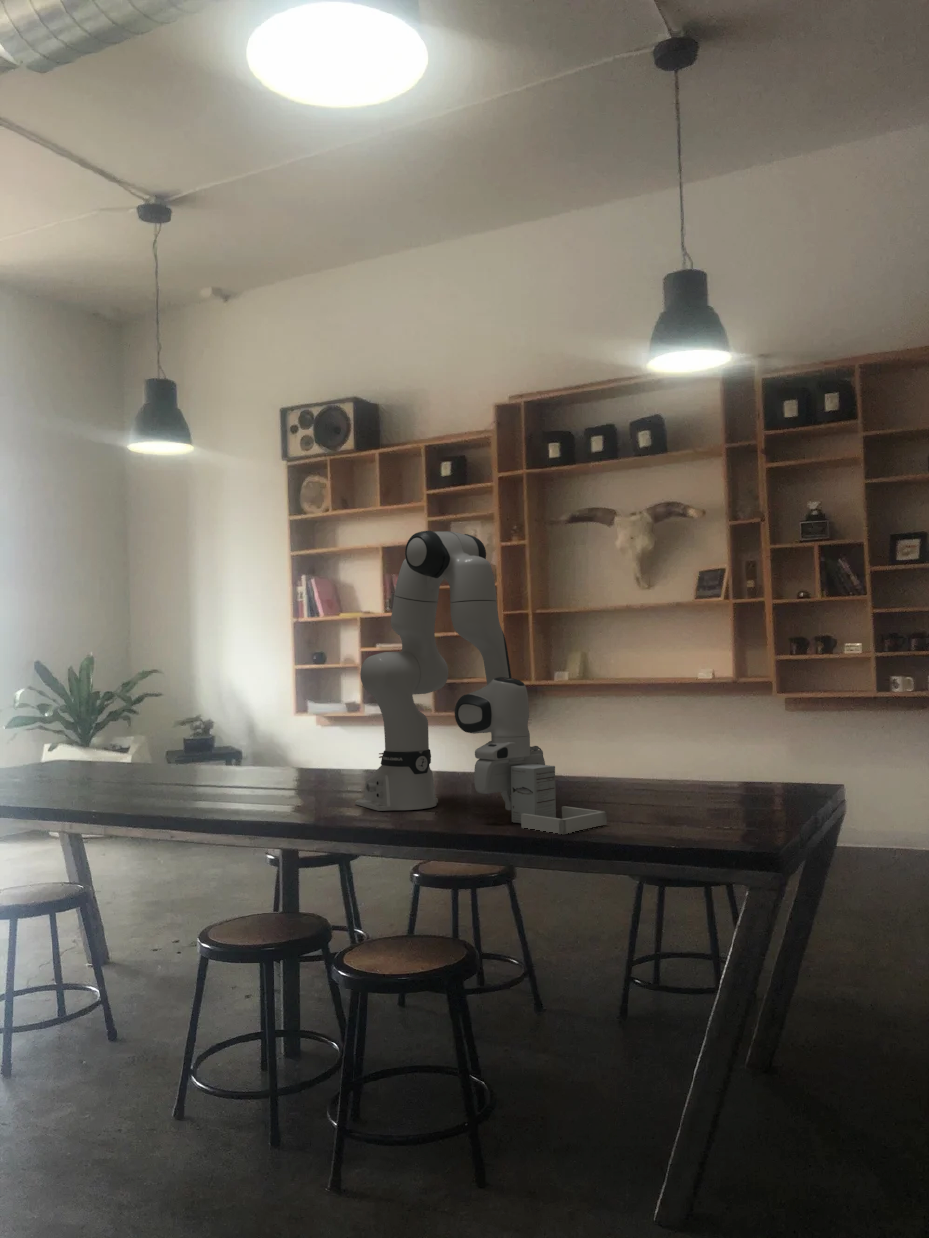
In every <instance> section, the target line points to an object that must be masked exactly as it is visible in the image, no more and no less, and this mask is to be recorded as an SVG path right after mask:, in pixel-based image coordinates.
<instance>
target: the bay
mask: <svg viewBox="0 0 929 1238" xmlns="http://www.w3.org/2000/svg"><path fill="white" fill-rule="evenodd" d="M607 822H608V821H607V811H604V810H598V809H597V810H595V809H590V808H589V809H588V808H580V807H574V806H566V805H565V806H561V818H558V817H556V818H552V817H545V816H538V815H531V814H521V823H520V825H521V829H524V828H528V829H527V830H530V829H535V830H534V831H536V830H540V831H539V832H543V831H546V832H545V833H549V832H553V833H552V834H555V833H558V834H557V835H561V834H562V835H563V836H564V835H568V833H569V834H573V833H572V832H574V833H576V832H575V831H579V830H583V829H587V828H592V827H596V826H601V825H607ZM607 826H608V825H607ZM583 831H584V830H583ZM579 832H580V831H579Z"/></svg>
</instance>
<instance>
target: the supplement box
mask: <svg viewBox="0 0 929 1238" xmlns="http://www.w3.org/2000/svg"><path fill="white" fill-rule="evenodd" d="M510 797H511V810H510V811H511V813H510V814H511V823H512V822H513V823H516V824H521V814H531V815H538V816H545V817H552V818H557V813H556V810H557V807H556V805H557V804H556V800H557V799H556V798H557V797H556V766H555V765H549V764H548V765H547V764H545V765H540V764H523V765H517V766H511V795H510Z"/></svg>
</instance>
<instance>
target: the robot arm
mask: <svg viewBox="0 0 929 1238" xmlns="http://www.w3.org/2000/svg"><path fill="white" fill-rule="evenodd" d="M404 550H405V551H404V552H405V553H404V556H405V559H404V560H403V561H402V563H401V566H400V569H399V572H398V575H397V579H396V583H395V589H394V595H393V602H392V610H391V615H390V616H391V617H390V626H391V629H392V630H393V631H394V633H396V634H397V635H399V637H400V640H401V651H384V652H379V653H376V654H373V655H370V656H368V657H367V658H366V659H364V661H363V662H362V665H361V666H360V667H361V668H360V673H359V674H360V675H359V676H360V681H361V684H362V686H363V688H364V689H365V690H366V691H367V693H369V694H370V695H371V696H372V697H373V699H375V701H376V703H377V705H378V708H379V710H380V713H381V716H382V720H383V733H384V750H383V752H380V753H378V755H380V756H378V758H379V759H381V761H380V766H379V767H378V768H377V770H375V771H374V772H373V773H372V774H371V776H370V777H368V778H367V779H366V780H365V784H364V795H363V796H364V797H363V798H359V799H357V800H355V802H354V805H357V806H361V807H363V808H367V809H371V810H374V811H379V812H382V811H383V812H384V811H385V812H387V811H413V810H423V809H431V808H433V807H436V806H437V804H438V803H439V798H438V797H436V791H435V784H434V776H433V775H434V774H433V770H432V769H431V767H430V764H431V763H432V754H431V753H432V752H431V749H430V747H429V745H430V744H429V719H428V718H427V716H426V715H425V714H424V713H423V712H421V711H420V710H419V709H418V708H417V705H416V704H415V701H414V697H413V696H414V695H426V694H429V693H433V692H436V691H438V690H441V689H442V688H443V687H445V685H446V683H447V681H448V679H449V667H448V663H447V662H446V659H445V658H444V657H443V656H442V655H441V653H440V652H439V649H438V645H437V642H436V637H435V636H436V635H435V632H436V631H435V629H436V628H435V627H436V619H437V618H436V617H437V610H438V602H439V597H440V596H439V594H440V587H441V584H442V582H443V581H444V580H445V581H446V582H447V583H448V586H449V601H450V603H449V605H450V618H451V619H450V620H451V622H452V623H451V624H452V626H453V629H454V631H455V632H456V633H457V635H459V637H460V638H462V639H464V640H465V641H467V642H469V643H470V644H472V645H473V646H474V647H475V648H476V649H477V650H478V651H479V653H480V654H481V657H482V661H483V664H484V665H483V667H484V672H485V680H486V685H485V686H483V687H481V688H480V689H477V690H475V691H472V692H469V693H467V694H464V695H462V696H460V697H459V698H458V700H457V701H456V704H455V707H454V719H455V722H456V724H457V725H458V727H459V729H461V730H462V731H463V732H465V733H469V734H473V735H474V734H487V733H490V734H491V735H490V737H491V738H490V739H491V740H490V741H488V742H486V743H485V744H483V745H481V746H480V747H478V748H475V751H474V757H475V758H476V759H477V761H476V762H475V765H474V771H473V772H474V773H473V774H474V776H473V778H474V779H473V780H474V789H475V791H476V792H477V793H479V794H486V795H488V794H494V793H495V794H496V793H500V795H501V797H502V799H503V802H504V803H505V805H504V807H505V810H506V811H511V766H517V765H523V764H540V765H546V761H545V758H544V751H543V749H541V747H539V746H538V745H532V746H531V734H530V730H529V725H528V724H529V718H530V706H529V705H530V704H529V694H528V689H527V686H526V684H525V683H524V682H522V680H519V679H517V678H512V672H511V671H512V670H511V665H510V658H509V652H508V645H507V641H506V637H505V633H504V631H503V629H502V627H501V624H500V618H499V613H498V602H497V601H498V600H497V599H498V598H497V588H496V583H495V578H494V573H493V568H492V565H491V563H490V562H489V560H487V551H486V547H485V545H484V543H483V542H482V541H481V540H480V539H479V538H478V537H476V536H474V535H471V534H469V533H464V534H463V533H460V532H455V531H450V530H448V531H447V530H446V531H438V530H437V531H433V530H422V531H418V532H416V533H414V534H412V535H411V536H410V538H409V539H408V540H407V542H406V545H405V549H404Z"/></svg>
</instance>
